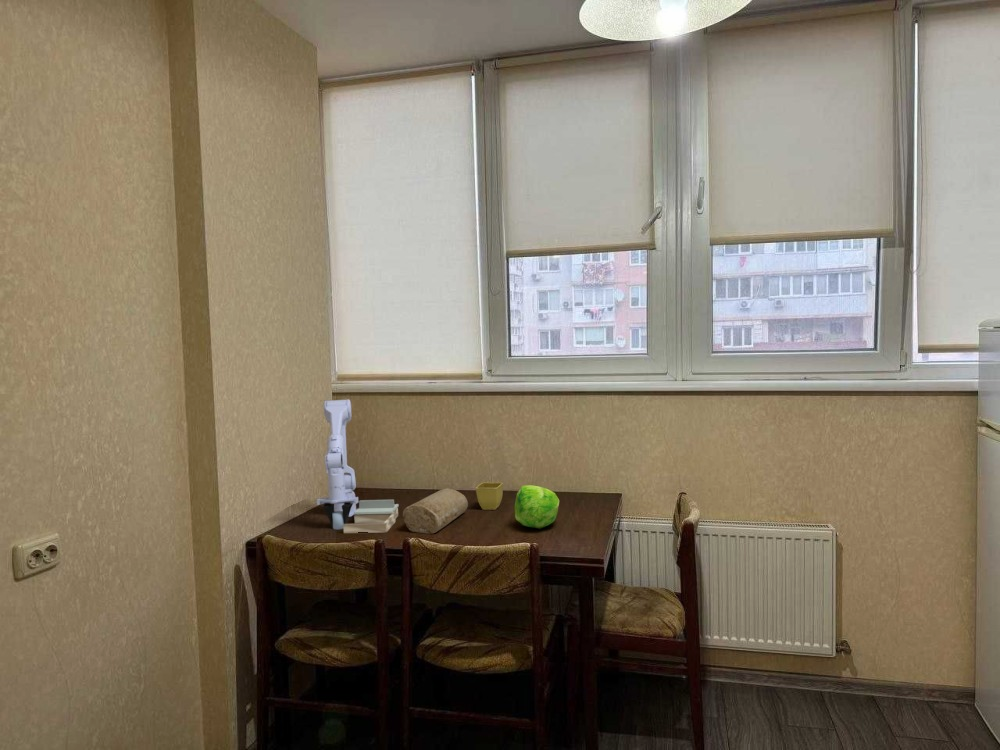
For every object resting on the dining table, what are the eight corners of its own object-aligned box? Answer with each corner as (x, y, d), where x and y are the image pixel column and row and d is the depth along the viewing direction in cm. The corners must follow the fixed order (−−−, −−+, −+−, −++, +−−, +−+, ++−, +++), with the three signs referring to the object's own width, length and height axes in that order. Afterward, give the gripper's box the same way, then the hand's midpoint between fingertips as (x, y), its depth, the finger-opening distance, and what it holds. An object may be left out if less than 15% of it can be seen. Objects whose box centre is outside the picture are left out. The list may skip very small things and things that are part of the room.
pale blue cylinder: (335, 525, 238) (334, 510, 237) (347, 525, 237) (346, 510, 237) (331, 529, 233) (330, 514, 233) (343, 529, 233) (342, 514, 233)
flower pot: (476, 511, 248) (474, 487, 248) (482, 505, 256) (481, 482, 256) (498, 511, 246) (497, 487, 245) (504, 505, 254) (503, 482, 254)
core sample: (468, 514, 245) (467, 487, 245) (439, 535, 220) (437, 506, 220) (434, 512, 250) (432, 486, 249) (401, 533, 225) (400, 504, 224)
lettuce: (554, 516, 236) (562, 481, 233) (552, 543, 216) (560, 505, 213) (514, 508, 237) (521, 473, 234) (508, 533, 217) (516, 495, 214)
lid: (362, 507, 250) (361, 497, 249) (398, 506, 248) (397, 496, 248) (354, 514, 240) (353, 504, 239) (391, 513, 238) (391, 503, 238)
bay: (361, 516, 248) (361, 508, 248) (400, 515, 247) (400, 507, 247) (343, 533, 228) (343, 524, 228) (386, 532, 227) (385, 523, 226)
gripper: (312, 489, 231) (315, 527, 232) (352, 488, 230) (355, 526, 231) (320, 484, 238) (322, 521, 239) (359, 483, 237) (361, 520, 238)
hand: (339, 523), depth 235 cm, fingers closed on pale blue cylinder, 4 cm apart
